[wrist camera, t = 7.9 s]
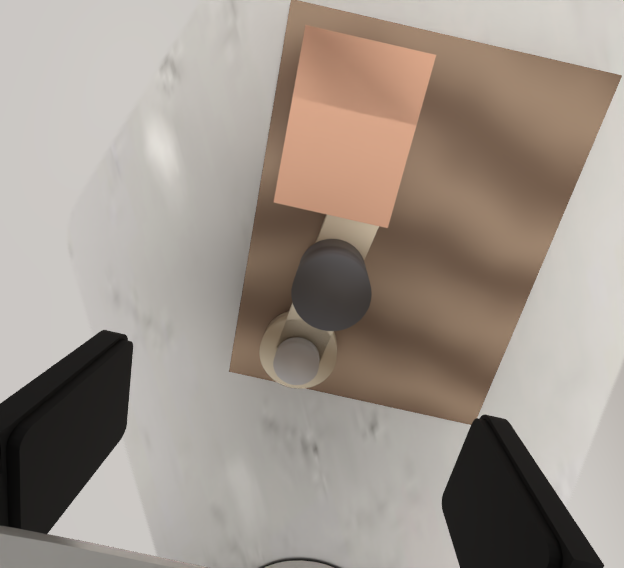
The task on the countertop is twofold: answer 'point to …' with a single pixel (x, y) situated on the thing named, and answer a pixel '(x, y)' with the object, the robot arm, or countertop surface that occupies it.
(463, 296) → the board
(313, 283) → the link
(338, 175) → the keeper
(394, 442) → the countertop surface
